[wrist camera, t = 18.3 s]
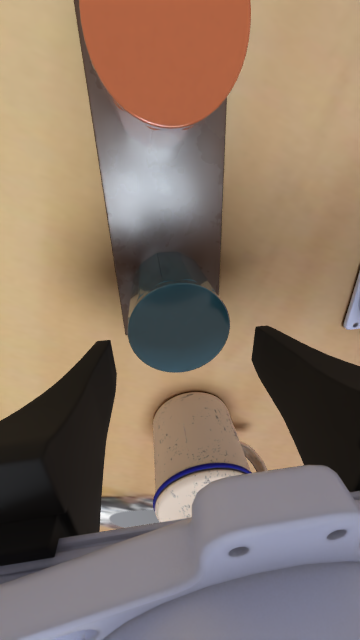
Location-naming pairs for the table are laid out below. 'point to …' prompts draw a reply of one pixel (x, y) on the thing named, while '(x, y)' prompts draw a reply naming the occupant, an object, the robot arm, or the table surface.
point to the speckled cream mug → (194, 451)
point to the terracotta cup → (165, 61)
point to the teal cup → (175, 314)
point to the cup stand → (158, 190)
